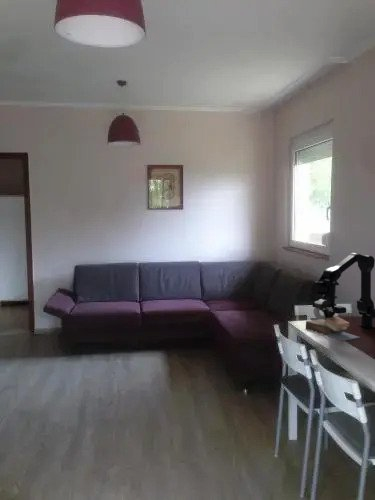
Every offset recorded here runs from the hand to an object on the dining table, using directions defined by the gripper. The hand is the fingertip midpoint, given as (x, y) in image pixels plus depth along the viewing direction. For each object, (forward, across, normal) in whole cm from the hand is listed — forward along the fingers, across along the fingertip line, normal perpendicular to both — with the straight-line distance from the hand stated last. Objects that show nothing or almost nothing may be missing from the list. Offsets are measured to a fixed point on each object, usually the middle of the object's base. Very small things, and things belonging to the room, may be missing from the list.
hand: (328, 323), depth 236 cm
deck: (+4, -3, 0) cm, 5 cm away
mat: (+4, +10, 0) cm, 11 cm away
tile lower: (+1, +5, 0) cm, 5 cm away
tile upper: (-1, +6, 0) cm, 6 cm away
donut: (+5, -20, +16) cm, 26 cm away
